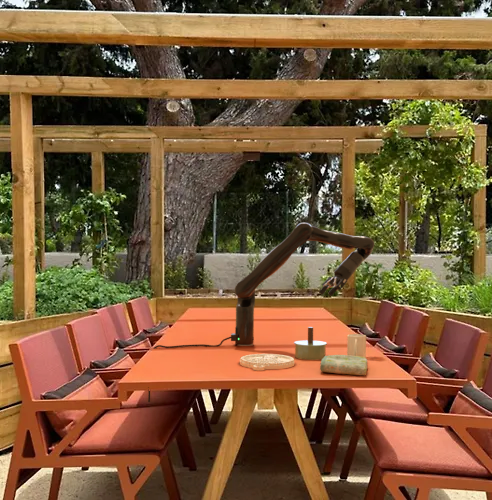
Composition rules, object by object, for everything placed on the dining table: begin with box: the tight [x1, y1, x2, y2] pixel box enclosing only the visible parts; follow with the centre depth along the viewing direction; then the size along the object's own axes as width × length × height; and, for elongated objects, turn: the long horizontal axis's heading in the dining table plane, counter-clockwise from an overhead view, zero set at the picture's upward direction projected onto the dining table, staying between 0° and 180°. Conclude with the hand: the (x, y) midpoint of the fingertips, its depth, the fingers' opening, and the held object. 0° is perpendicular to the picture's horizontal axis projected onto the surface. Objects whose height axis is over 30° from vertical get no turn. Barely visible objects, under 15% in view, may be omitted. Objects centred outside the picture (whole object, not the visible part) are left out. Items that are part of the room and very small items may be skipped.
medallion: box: [239, 353, 296, 372], centre depth 256 cm, size 24×27×2 cm
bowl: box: [294, 344, 327, 361], centre depth 273 cm, size 14×14×6 cm
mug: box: [346, 333, 367, 359], centre depth 261 cm, size 12×8×12 cm
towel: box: [319, 354, 369, 376], centre depth 245 cm, size 18×21×5 cm
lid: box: [293, 326, 328, 346], centre depth 273 cm, size 15×15×8 cm
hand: (324, 294), depth 287 cm, fingers open, 8 cm apart
